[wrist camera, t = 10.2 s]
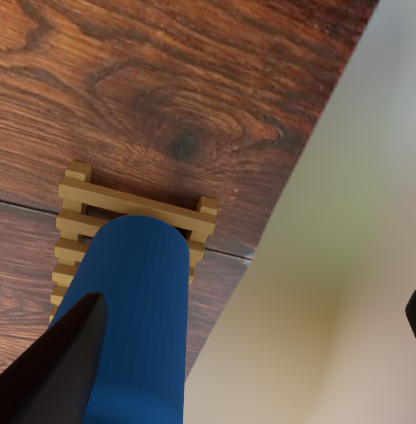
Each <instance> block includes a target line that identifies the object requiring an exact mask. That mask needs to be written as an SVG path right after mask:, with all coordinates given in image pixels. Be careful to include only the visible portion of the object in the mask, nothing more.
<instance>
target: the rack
mask: <svg viewBox="0 0 416 424" xmlns="http://www.w3.org/2000/svg"><path fill="white" fill-rule="evenodd" d="M91 173H92V165H90V164H86V163H83V162H79V161H76V160H74V161H73V162H72V163H71V164H70V165H69V166H68V167H67V168H66V171H65V177H64V178H63V180H62V181H61V182H60V183H59V187H58V197H60V198H63V208H62V210H61V212H60V213H59V214H58V216H57V217H56V229H60V230H61V232H60V239H59V240H58V242H57V243H56V245H55V246H54V257H58V264H57V265H56V267H55V269H54V270H53V272H52V281H54V282H56V286H55V288H54V290H53V292H52V294H51V300H50V303H53V304H55V306H54V308H53V310H52V312H51V313H50V317H49V322H50V323H51V321H52V319H53V317H54V315H55V313H56V311H57V309H58V307H59V305H60V303H61V301H62V299H63V297H64V295H65V293H66V291H67V289H68V287H69V285H70V283H71V281H72V279H73V277H74V275H75V273H76V271H77V269H78V267H79V263H80V262H81V261H82V259H83V257H84V255H85V253H86V251H87V249H88V247H89V245H90V244H85V243H82V241H83V235H86V236H90V237H94V236H95V234H96V232H97V231H98V230H99V229H100V228H101V227H102V226H103V225H104V224H106V223H107V222H109V221H108V220H104V219H100V218H96V217H92V216H88V215H86V211H87V204H88V205H92V206H96V207H100V208H104V209H108V210H112V211H116V212H120V213H124V214H128V215H145V216H151V217H154V218H157V219H160V220H163V221H165V222H166V223H168V224H170V225H172V226H176V227H179V228H183V229H187V230H189V231H188V233H187V236H186V239H185V241H186V243H187V245H188V248H189V253H190V261H189V285H191V283H192V281H193V278H194V267H195V265H196V263H197V261H198V262H200V261H201V259H202V257H203V255H204V243H205V241H206V238H207V236H208V235H212V233H213V231H214V228H215V226H216V218H215V216H216V214H217V211H218V207H217V200H216V199H212V198H209V197H205V196H201V198H200V200H199V203H198V206H197V209H196V211H192V210H188V209H185V208H181V207H177V206H173V205H170V204H166V203H162V202H158V201H155V200H151V199H147V198H143V197H139V196H136V195H132V194H128V193H124V192H121V191H117V190H113V189H109V188H106V187H102V186H98V185H94V184H90V180H91Z"/></svg>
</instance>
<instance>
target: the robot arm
mask: <svg viewBox="0 0 416 424" xmlns="http://www.w3.org/2000/svg"><path fill="white" fill-rule="evenodd" d="M405 312H406V316H407V319H408V321H409V323H410V326H411V328H412V331H413V333H414V335H415V338H416V290H415V291H414V293H413V294H412V296H411V298H410V300H409V302H408V304H407V306H406V309H405ZM108 316H109V313H108V308H107V304H106V301H105V297H104V294H103V293H102V292H88V293H86V294H85V295H84V296H83V297H82V298H81V299H80V300H79V301H77V302H76V303H75V304H74V305H73V306H72V307H71V308H70V309H69V310H68V311H67V312H66V313H65V314H64V315H63V316H62V317H61V318H59V319H58V320H57V321H56V322H55V323H54V324H53V325H52V326H51V327H50V328H49V329H48V330H47V331H46V332H45V333H44V334H43V335H41V336H40V337H39V338H38V339H37V340H36V341H35V342H34V343H33V344H32V345H31V346H30V347H29V348H28V349H27V350H26V351H25V352H23V353H22V354H21V355H20V356H19V357H18V358H17V359H16V360H15V361H14V362H13V363H12V364H11V365H10V366H9V367H8V368H7V369H5V370H4V371H3V372H2V373H1V374H0V424H82V421H83V418H84V414H85V411H86V408H87V405H88V402H89V398H90V395H91V392H92V389H93V385H94V382H95V379H96V375H97V372H98V367H99V363H100V358H101V353H102V347H103V342H104V337H105V332H106V327H107V322H108Z"/></svg>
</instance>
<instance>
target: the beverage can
mask: <svg viewBox="0 0 416 424" xmlns="http://www.w3.org/2000/svg"><path fill="white" fill-rule="evenodd" d="M189 261H190V253H189V248H188V245H187V243H186V241H185V239H184V237H183V236H182V235H181V234H180V232H179V231H178V230H176V229H175V228H174V227H173V226H171V225H170V224H168V223H166V222H165V221H163V220H160V219H157V218H154V217H151V216H145V215H126V216H121V217H118V218H115V219H113V220H111V221H109V222H107V223H106V224H104V225H103V226H102V227H101V228H100V229H99V230H98V231H97V232H96V234H95V236H94V238H93V239H92V241H91V243H90V245H89V247H88V249H87V251H86V253H85V255H84V257H83V259H82V261H81V263H80V265H79V267H78V269H77V271H76V273H75V275H74V277H73V279H72V281H71V283H70V285H69V287H68V289H67V291H66V293H65V295H64V297H63V299H62V301H61V303H60V305H59V307H58V309H57V311H56V313H55V315H54V317H53V319H52V321H51V323H50V325H49V327H48V329H49V328H50V327H51V326H52V325H53V324H54V323H55V322H56V321H57V320H58V319H59V318H61V317H62V316H63V315H64V314H65V313H66V312H67V311H68V310H69V309H70V308H71V307H72V306H73V305H74V304H75V303H76V302H77V301H79V300H80V299H81V298H82V297H83V296H84V295H85V294H86V293H88V292H102V293H103V294H104V297H105V301H106V304H107V308H108V313H109V316H108V322H107V327H106V332H105V337H104V342H103V347H102V353H101V358H100V363H99V367H98V372H97V375H96V379H95V382H94V385H93V389H92V392H91V395H90V398H89V402H88V405H87V408H86V411H85V414H84V418H83V421H82V424H183V405H184V381H185V357H186V333H187V309H188V285H189ZM48 329H47V330H48Z"/></svg>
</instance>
